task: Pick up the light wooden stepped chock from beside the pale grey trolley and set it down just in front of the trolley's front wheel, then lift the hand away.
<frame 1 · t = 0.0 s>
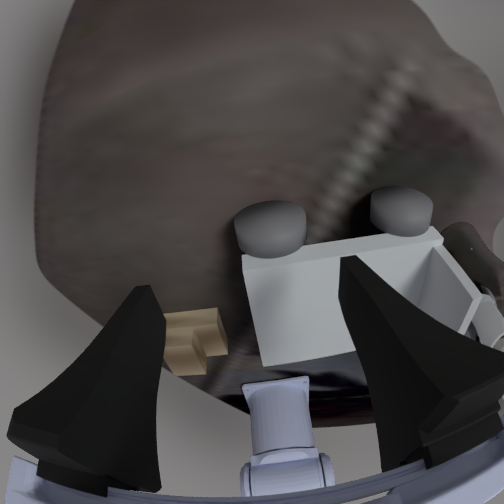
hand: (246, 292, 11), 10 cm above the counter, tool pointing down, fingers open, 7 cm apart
beer glass: (451, 248, 24), on the counter
chock: (196, 326, 27), on the counter
trolley: (330, 266, 24), on the counter
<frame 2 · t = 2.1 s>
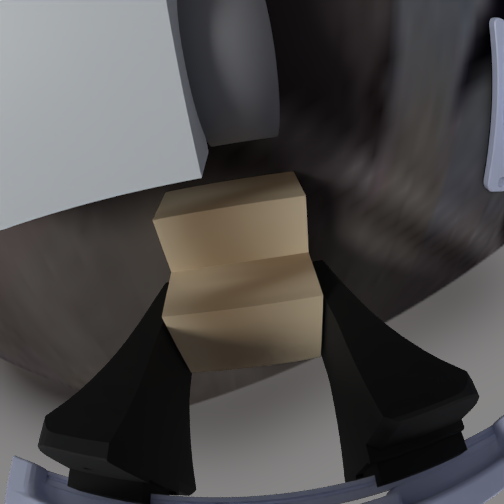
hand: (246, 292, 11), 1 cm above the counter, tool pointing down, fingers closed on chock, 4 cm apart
chock: (239, 240, 12), on the counter, touching gripper
when the fingers open (2 cm above the counter, at t = 5.6 s): chock stays where it is, on the counter.
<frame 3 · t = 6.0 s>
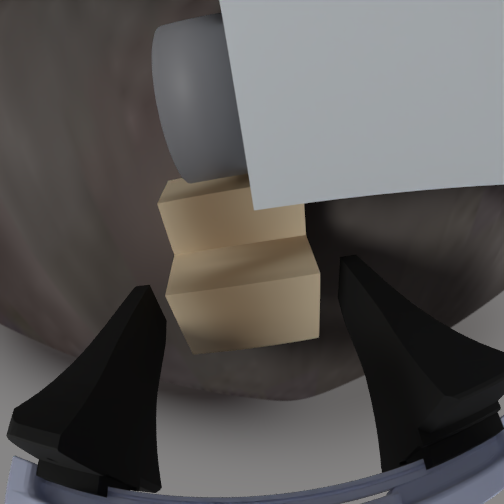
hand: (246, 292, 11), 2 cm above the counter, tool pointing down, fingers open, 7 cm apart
chock: (239, 226, 12), on the counter
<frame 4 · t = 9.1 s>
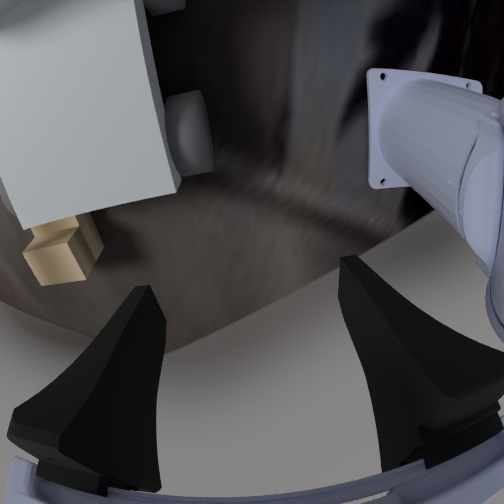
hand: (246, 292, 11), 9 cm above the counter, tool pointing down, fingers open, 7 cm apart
chock: (70, 222, 20), on the counter
trolley: (92, 81, 14), on the counter
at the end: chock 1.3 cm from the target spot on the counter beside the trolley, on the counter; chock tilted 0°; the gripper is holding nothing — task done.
